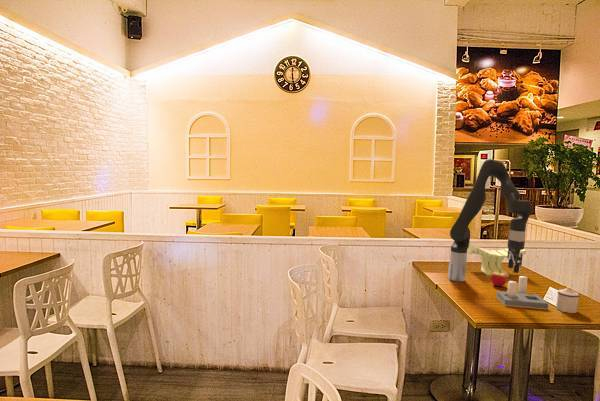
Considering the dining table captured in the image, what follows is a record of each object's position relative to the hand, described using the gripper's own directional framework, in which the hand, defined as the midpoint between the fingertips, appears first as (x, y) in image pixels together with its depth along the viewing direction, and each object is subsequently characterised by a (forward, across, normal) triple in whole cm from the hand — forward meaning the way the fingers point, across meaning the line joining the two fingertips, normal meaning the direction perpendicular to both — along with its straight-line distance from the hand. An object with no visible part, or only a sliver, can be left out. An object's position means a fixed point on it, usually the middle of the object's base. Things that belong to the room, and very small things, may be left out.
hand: (513, 270), depth 213 cm
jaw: (+16, 0, +1) cm, 16 cm away
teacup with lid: (+17, +4, +24) cm, 30 cm away
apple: (+17, -28, +2) cm, 33 cm away
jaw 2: (+17, -14, +10) cm, 24 cm away
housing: (+17, 0, +6) cm, 17 cm away
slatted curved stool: (+17, -58, +8) cm, 61 cm away
